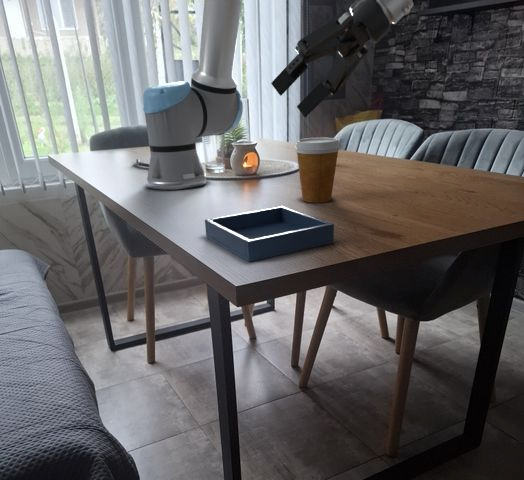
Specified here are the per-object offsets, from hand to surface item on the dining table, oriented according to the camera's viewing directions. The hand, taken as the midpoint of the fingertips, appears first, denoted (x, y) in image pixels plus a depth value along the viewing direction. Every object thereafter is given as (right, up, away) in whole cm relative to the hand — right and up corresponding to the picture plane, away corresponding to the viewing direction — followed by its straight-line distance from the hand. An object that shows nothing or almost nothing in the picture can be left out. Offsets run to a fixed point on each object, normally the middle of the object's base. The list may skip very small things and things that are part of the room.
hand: (289, 101), depth 93 cm
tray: (-4, -29, -12) cm, 32 cm away
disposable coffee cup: (+7, -15, +13) cm, 21 cm away
